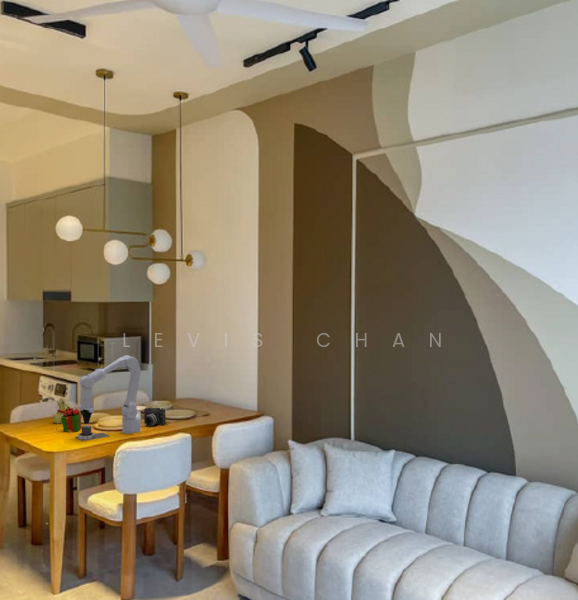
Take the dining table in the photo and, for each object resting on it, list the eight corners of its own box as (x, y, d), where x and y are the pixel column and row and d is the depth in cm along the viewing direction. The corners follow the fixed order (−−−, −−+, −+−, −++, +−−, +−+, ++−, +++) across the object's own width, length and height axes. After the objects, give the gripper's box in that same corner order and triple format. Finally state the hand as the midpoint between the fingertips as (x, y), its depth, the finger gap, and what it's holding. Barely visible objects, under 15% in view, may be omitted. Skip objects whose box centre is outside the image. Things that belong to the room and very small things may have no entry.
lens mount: (103, 434, 331) (103, 428, 331) (110, 438, 324) (110, 432, 323) (74, 438, 321) (74, 433, 321) (81, 443, 313) (81, 437, 313)
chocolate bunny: (73, 421, 359) (73, 397, 358) (55, 424, 351) (55, 399, 350) (67, 419, 364) (67, 395, 363) (50, 422, 356) (50, 397, 355)
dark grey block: (89, 436, 323) (89, 425, 323) (92, 437, 320) (92, 426, 319) (80, 437, 320) (80, 426, 320) (83, 439, 316) (83, 428, 316)
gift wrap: (60, 431, 342) (57, 407, 343) (93, 427, 344) (90, 403, 344) (49, 439, 322) (46, 412, 323) (84, 434, 324) (81, 408, 324)
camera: (136, 425, 352) (136, 409, 352) (147, 421, 362) (147, 405, 362) (156, 428, 347) (156, 411, 346) (167, 424, 357) (167, 407, 356)
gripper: (74, 397, 322) (74, 422, 322) (84, 401, 311) (84, 427, 311) (86, 395, 327) (86, 420, 327) (97, 400, 316) (97, 425, 316)
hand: (86, 423), depth 320 cm, fingers closed
